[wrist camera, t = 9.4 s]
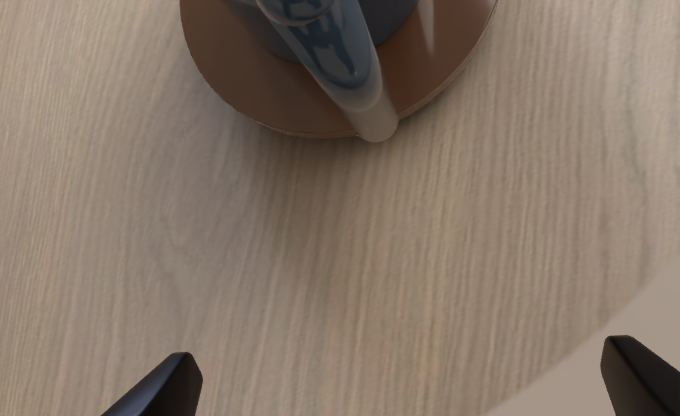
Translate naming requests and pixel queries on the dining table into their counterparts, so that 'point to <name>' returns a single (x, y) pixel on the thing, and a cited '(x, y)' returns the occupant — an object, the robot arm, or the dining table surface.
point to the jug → (332, 58)
